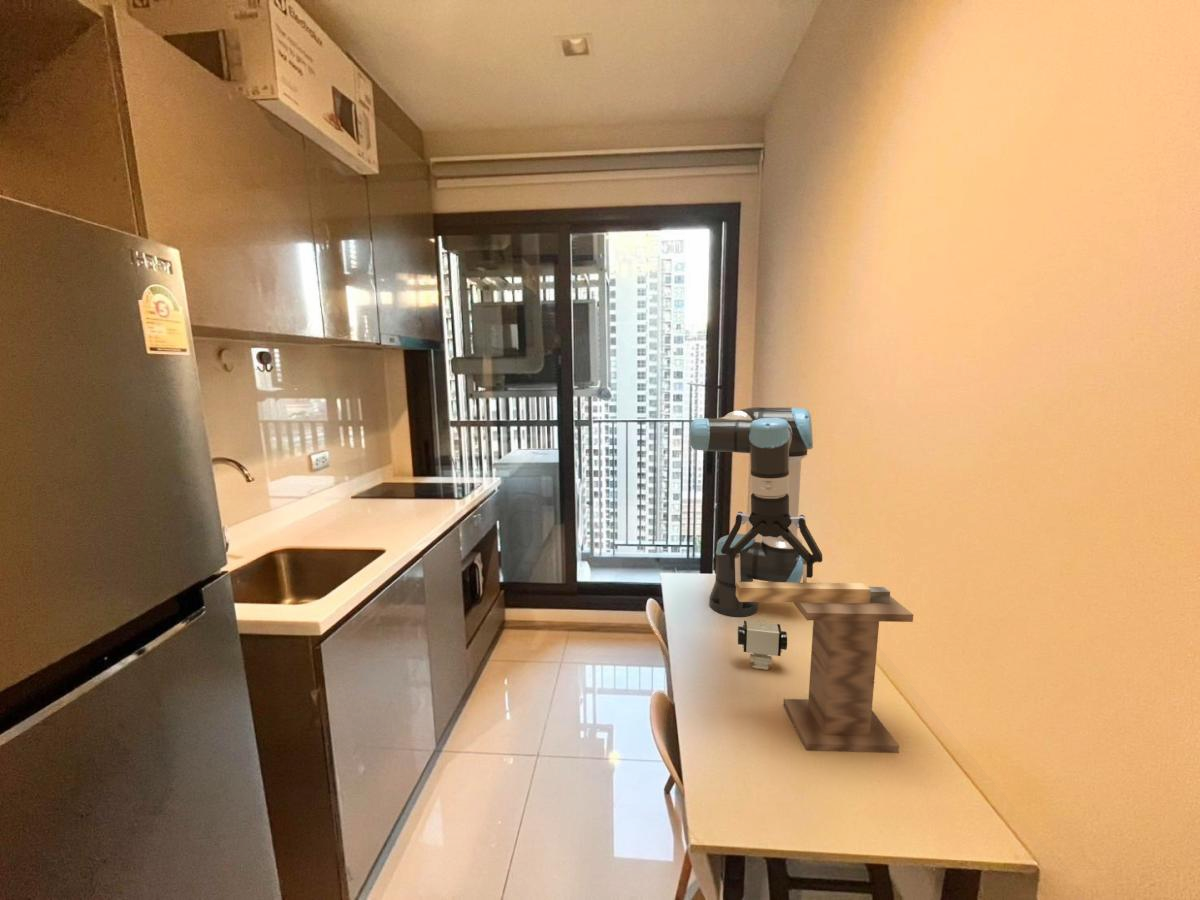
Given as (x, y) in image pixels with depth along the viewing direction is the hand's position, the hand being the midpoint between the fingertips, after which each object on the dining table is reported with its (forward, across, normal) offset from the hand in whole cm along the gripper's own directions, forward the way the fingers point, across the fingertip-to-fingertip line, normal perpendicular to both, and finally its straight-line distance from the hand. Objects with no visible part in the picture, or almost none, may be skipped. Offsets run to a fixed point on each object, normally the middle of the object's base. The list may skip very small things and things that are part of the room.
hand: (770, 586), depth 109 cm
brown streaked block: (0, +8, -3) cm, 9 cm away
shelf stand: (+29, +13, -4) cm, 32 cm away
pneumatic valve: (+30, -4, +14) cm, 34 cm away
